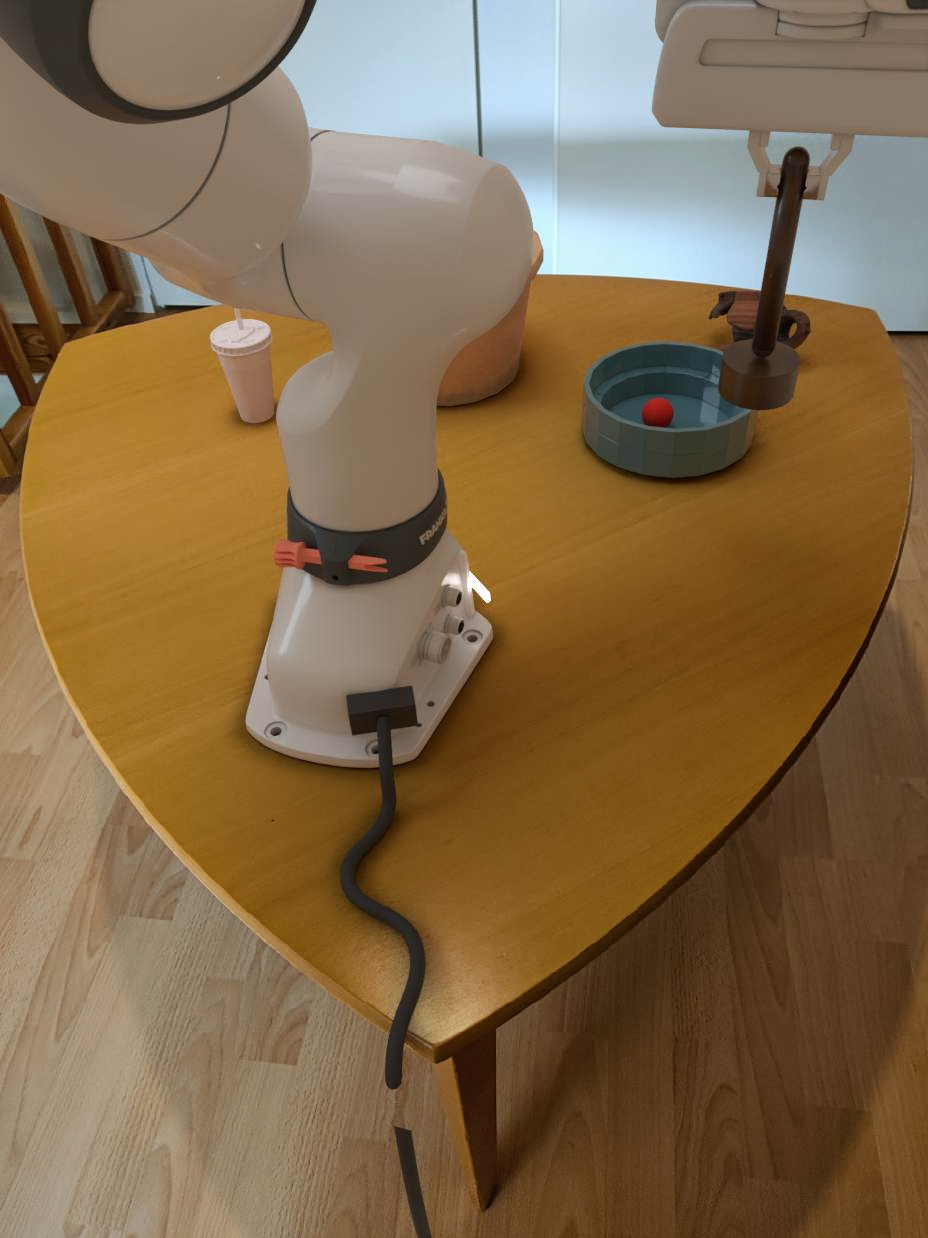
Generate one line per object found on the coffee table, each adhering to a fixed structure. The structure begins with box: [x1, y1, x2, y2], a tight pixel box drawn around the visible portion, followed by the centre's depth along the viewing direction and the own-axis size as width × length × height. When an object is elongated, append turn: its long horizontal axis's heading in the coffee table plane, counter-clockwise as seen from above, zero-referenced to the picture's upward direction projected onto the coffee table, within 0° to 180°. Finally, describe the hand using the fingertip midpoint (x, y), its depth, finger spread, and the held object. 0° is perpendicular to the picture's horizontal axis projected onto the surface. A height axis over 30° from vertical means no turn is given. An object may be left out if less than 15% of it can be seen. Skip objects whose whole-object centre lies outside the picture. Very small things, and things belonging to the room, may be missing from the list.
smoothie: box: [209, 308, 275, 424], centre depth 105 cm, size 6×6×14 cm
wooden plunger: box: [718, 145, 811, 411], centre depth 74 cm, size 6×6×19 cm
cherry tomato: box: [642, 398, 674, 428], centre depth 101 cm, size 3×3×3 cm
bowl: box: [581, 340, 759, 479], centre depth 101 cm, size 17×17×6 cm
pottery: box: [436, 229, 545, 407], centre depth 110 cm, size 22×22×14 cm
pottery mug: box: [708, 290, 812, 352], centre depth 113 cm, size 12×10×8 cm
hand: (790, 195), depth 70 cm, fingers closed on wooden plunger
